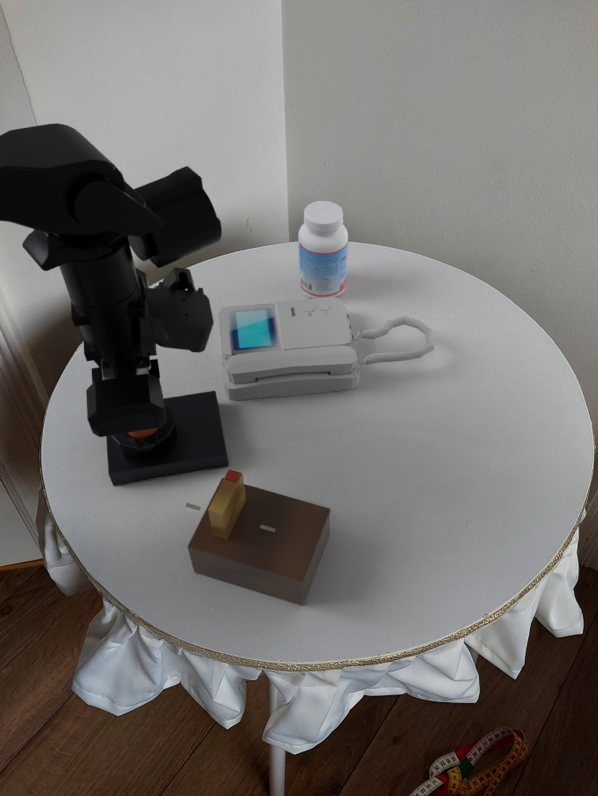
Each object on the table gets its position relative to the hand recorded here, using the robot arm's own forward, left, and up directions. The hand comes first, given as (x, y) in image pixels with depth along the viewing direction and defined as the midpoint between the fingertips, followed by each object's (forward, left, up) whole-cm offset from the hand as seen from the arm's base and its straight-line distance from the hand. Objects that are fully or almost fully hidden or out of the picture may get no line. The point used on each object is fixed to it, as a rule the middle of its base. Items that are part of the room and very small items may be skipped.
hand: (138, 406), depth 73 cm
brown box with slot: (+10, -16, -6) cm, 19 cm away
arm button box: (+2, 0, -6) cm, 7 cm away
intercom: (+22, +10, -7) cm, 25 cm away
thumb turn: (+7, -14, -1) cm, 16 cm away
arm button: (0, 0, -3) cm, 3 cm away
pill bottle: (+24, +21, -7) cm, 33 cm away
